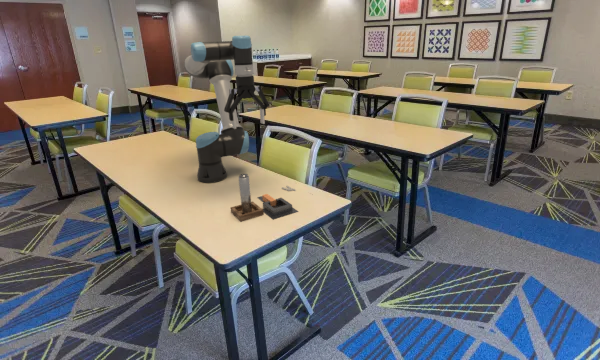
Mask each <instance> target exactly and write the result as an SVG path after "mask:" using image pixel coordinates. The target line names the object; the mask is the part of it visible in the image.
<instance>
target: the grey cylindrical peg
mask: <svg viewBox="0 0 600 360" xmlns="http://www.w3.org/2000/svg"><path fill="white" fill-rule="evenodd" d="M250 184H251V183H250V176H249V174H247V173H240V174H239V176H238V185H239V194H240V205H241V206H242V214H246V213H249V212H252V206H251V202H252V196H251V187H250Z"/></svg>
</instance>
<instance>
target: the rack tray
mask: <svg viewBox="0 0 600 360" xmlns="http://www.w3.org/2000/svg"><path fill="white" fill-rule="evenodd" d="M251 206H252V212H249V213H246V214H242V206H241V204H239V205H235V206H230V213H231V214H232V215H233V216H234V217H236V219H237V220H238V221H240V222H245V221H248V220H251V219H254V218H258V217H261V216H264V215H265V213H264V212H263V207H260V205H258V204H257V203H255V202H254V201H253V200H251Z"/></svg>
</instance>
